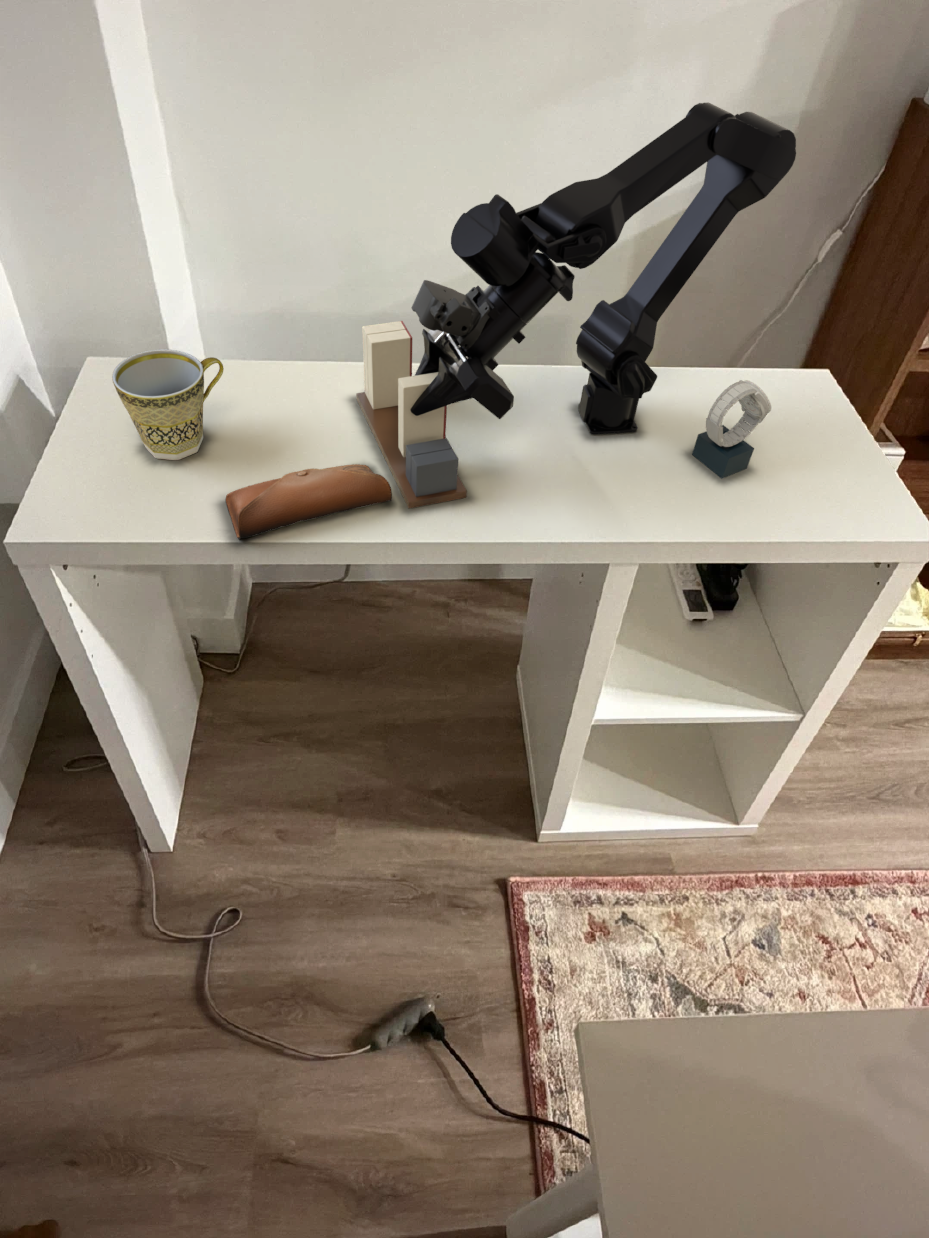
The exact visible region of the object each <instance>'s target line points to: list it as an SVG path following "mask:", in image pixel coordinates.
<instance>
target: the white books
mask: <svg viewBox="0 0 929 1238" xmlns="http://www.w3.org/2000/svg"><path fill="white" fill-rule="evenodd" d="M361 327H362V355H363V356H362V357H363V358H362V361H363V385H364V386H363V387H364V392H365V394H366V396H367V398H368V400H369V402H370V404H371V406H372V408H373V409H380V408H386V407H392V406H398V378H403V377H410V376H413V336H412V334H411V333H410V331H409V330H408V328H407V326H406V324H405V322H404V321H403V320H400V321H399V320H398V321H391V322H384V323H377V324H376V323H375V324H370V325H363V326H361Z"/></svg>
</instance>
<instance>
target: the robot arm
mask: <svg viewBox="0 0 929 1238" xmlns="http://www.w3.org/2000/svg"><path fill="white" fill-rule="evenodd" d="M796 157H797V138H796V135H795V133H794V132H792V130H790V129H788V128H786V127H784V126H782V125H780V124H778V123H776V122H774V121H772V120H770V119H767V118H765V117H763V116H761V115H759V114H756V113H755V112H753V111H744V112H742V113H736V114H735V115H734V114H733V113H731V112H729V111H727V110H725V109H723V108H721V107H719V106H718V105H715V104H713V103H710V102H698V103H696V104H694V105H693V106H692V107H691V108H690V109H689V110H688V112H687V114H686V115H685V116H684V118H682V119H681V120H680V121H678V122H677V123H676V124H674V125H673V126H671V127H670V128H668V129H667V130H666V131H664V132H663V133H662V134H660V135H658V136H657V137H656V138H654V139H653V140H652V141H651V142H649V143H648V144H646V145H645V146H643V147H642V148H641V149H639V150H637V152H635V153H633V154H632V155H631V156H630V157H628V158H627V159H625V160H624V161H622V162H621V163H620V164H618V165H617V166H616V167H613V169H612V170H610V171H609V172H607V173H606V174H603V175H602V176H600V177H597V178H592V179H584V180H579V181H575V182H573V183H571V184H569V185H567V186H565V187H563V188H561V189H559V190H556V191H555V192H553V193H551V194H550V195H548V196H547V197H546V198H545V199H544V200H543V201H542V202H540V203H538V204H535V205H532V206H530V207H528V208H525V209H523V210H519V211H516V209H515V207H514V206H513V205H512V204H511V203H510V202H509V201H508V200H507V199H505V198H504V197H502V196H501V195H500V194H499V193H498V194H496V193H495V195H493V197H492V198H491V199H490V201H489V202H484V203H479V204H477V205H474V206H472V207H471V208H470V209H469V210H468V211H466V212H463V213H461V215H460V216H459V218H458V219H457V221H456V222H455V224H454V226H453V228H452V232H451V235H450V246H451V249H452V251H453V253H454V254H455V255H456V256H457V257H459V259H461V261H463V262H464V263H465V264H466V265H467V266H468V267H469V268H470V269H471V270H472V271H473V272H474V273H475V274H476V275H477V276H478V277H479V278H481V280H483V281H484V282H485V283H486V284H487V285H488V286H487V287H486V288H485V289H483V288H482V287H480V285H476V286H473V287H472V288H471V289H470V290H469V291H468V292H467V293H465V294H464V293H461V292H459V291H457V290H456V289H453V288H451V287H448V286H445V285H443V284H439V283H437V282H434V281H432V280H428V279H424V280H423V281H422V283H421V285H420V287H419V290H418V292H417V294H416V296H415V298H414V301H413V303H412V305H411V310H412V312H415V313H416V316H417V317H418V321H419V323H420V325H422V327H424V328H426V329H428V330H429V331H427V330H426V329H424V328H423V329H422V332H421V335H422V337H423V343H424V344H423V346H424V348H423V349H424V353H423V355H422V358H421V360H420V362H419V365H418V367H417V369H416V372H415V374H414V376H416V375H423V374H429V373H436V372H438V375H437V376H436V377H435V379H434V380H433V381H432V382H431V383H430V385H429V386H428V387H427V388H426V389H425V391H424V392H423V393H422V394H421V395H420V397H419V398H418V399H417V400H416V402H415V403H414V405H413V406H412V408H411V409H410V411H411V413H413V414H414V415H415V416H419V415H422V414H424V413H427V412H430V411H433V410H436V409H438V408H441V407H444V406H447V407H448V406H450V405H453V404H456V403H460V402H463V401H468V400H471V399H473V400H475V401H476V402H477V403H478V404H480V405H481V406H482V407H483V408H485V409H486V410H487V411H488V412H490V413H491V414H492V415H493V416H495V417H496V418H497V419H498V420H501V419H502V418H503V417H504V416H505V415H506V414H507V413H509V412H510V411H511V409H513V407H514V402H515V401H514V400H515V396H514V394H513V393H512V391H511V390H510V388H509V387H508V385H507V384H506V382H505V380H504V379H503V378H501V376H500V375H498V373H496V372H495V371H494V370H495V369H496V368H497V367H498V366H499V365H500V364H499V363H498V362H497V360H496V357H497V356H498V355H499V353H500V352H502V350H503V349H504V348H506V346H507V345H508V344H509V343H510V342H512V340H514V341H515V342H516V343H517V344H518V345H520V344H521V343H522V342H523V340H525V339H526V335H524V333H523V331H522V330H523V329H524V328H525V327H526V326H527V325H528V324H529V323H530V322H531V321H533V319H534V318H535V317H536V316H537V315H538V314H539V313H540V311H541V310H543V309H544V308H545V307H546V306H547V305H548V303H549V302H550V301H551V300H552V299H553V298H554V297H555V296H556V295H557V294H560V296H561V297H563V299H564V300H565V301H566V302H571V301H572V300H573V295H574V280H575V277H576V276H575V274H574V273H573V272H572V271H571V269H569V267H571V268H574V269H579V270H582V269H586V268H588V267H590V266H591V265H593V264H594V263H596V262H597V261H598V260H599V259H600V258H601V257H602V256H604V254H605V253H606V252H607V251H609V249H611V247H612V246H613V245H615V244H616V243H617V242H618V240H619V238H620V236H621V234H622V232H623V228H624V226H625V224H626V223H627V222H628V221H629V220H630V219H631V218H632V217H633V216H634V215H636V214H637V213H639V212H640V211H641V210H643V209H644V208H645V207H647V206H649V205H650V204H651V203H652V202H654V201H655V200H657V199H658V198H659V197H660V196H662V195H663V194H665V193H666V192H667V191H669V190H670V189H671V188H673V187H674V186H676V185H677V184H678V183H680V182H681V181H683V180H684V179H685V178H687V177H688V176H689V175H691V174H692V173H694V172H695V171H697V170H698V169H699V168H701V167H702V166H703V165H704V164H706V167H705V171H704V172H705V173H704V178H703V179H704V180H703V185H702V186H701V188H700V189H699V190H698V192H697V193H696V194H695V197H694V198H693V199H692V201H691V202H690V203H689V204H688V206H687V208H686V209H685V211H684V212H683V213H682V215H681V216H680V217H679V219H678V220H677V222H676V223H675V225H674V226H673V228H672V229H671V230H670V231H669V233H668V234H667V235H666V237H665V239H664V240H663V242H662V243H661V244H660V246H659V247H658V249H656V251H655V253H654V254H653V256H652V257H651V258H650V260H649V261H648V263H647V264H646V265H645V267H644V268H643V269H642V271H641V272H640V274H639V275H638V277H637V278H636V279H635V281H634V282H633V284H632V285H631V286H630V288H628V289H629V290H628V291H627V292H626V293H625V294H624V295H623V296H622V297H621V298H618V299H617V300H615V301H612V302H611V303H608V302H607V301H606V300H604V299H602V300H600V301H599V302H598V303H597V304H596V305H595V307H594V308H593V311H592V312H591V314H590V315H589V317H588V318H587V319H586V320H585V321H584V322H583V323H582V324H581V325H580V326H579V328H580V332H579V334H578V336H577V339H576V341H575V345H576V355H577V357H578V359H580V361H581V367H582V368H583V369H585V370H587V371H588V372H589V374H588V378H587V383H586V384H584V385H583V386H582V390H581V396H580V401H579V403H578V406H577V409H578V413H579V415H580V417H581V420H582V422H583V423H584V424H585V427H586V428H587V431H588V433H589V434H590V435H592V436H593V435H594V436H596V435H611V434H626V433H628V434H629V433H637V432H638V425H637V423H636V421H635V418H636V414H637V410H638V406H639V402H640V399H642V398H643V395H644V394H647V393H648V392H649V393H650V392H651V390H652V389H653V386H654V385H655V383H656V381H657V379H658V374H657V373H656V372H655V371H654V370H653V369H652V368H651V367H650V366H649V364H648V363H647V362H646V361H647V359H648V358H649V356H650V354H651V353H652V351H653V349H654V345H655V340H656V333H657V326H658V322H659V320H660V319H661V317H662V316H663V314H664V313H665V311H666V310H668V308H669V307H670V305H671V304H672V302H673V301H674V300H675V298H676V297H677V296H678V294H679V293H680V291H681V290H682V289H683V288H684V286H685V285H686V283H687V282H688V281H689V279H690V278H691V276H692V275H693V274H694V272H695V271H696V270H697V268H699V266H700V264H701V263H702V262H703V260H704V259H705V257H707V255H708V254H709V252H710V251H711V249H712V248H713V247H714V245H715V244H716V243H717V241H718V240H719V239H720V237H721V236H722V235H723V233H724V232H725V230H726V229H727V228H728V226H729V225H730V223H731V222H732V221H733V220H734V218H735V217H736V216H737V215H738V213H739V212H741V211H743V210H745V209H746V208H749V207H750V206H753V205H754V204H756V203H758V202H760V201H762V200H764V199H765V198H766V197H767V196H768V195H769V194H770V193H771V192H772V191H773V190H774V189H775V188H776V187H777V186H778V184H780V182H781V181H782V180H783V179H784V178H785V177H786V176H787V174H788V173H789V171H790V170H791V169H792V167H793V165H794V163H795V161H796ZM556 264H563V265H556ZM566 264H567V265H566ZM568 266H569V267H568Z"/></svg>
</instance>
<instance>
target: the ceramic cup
mask: <svg viewBox="0 0 929 1238" xmlns="http://www.w3.org/2000/svg"><path fill="white" fill-rule="evenodd" d="M214 364H218V371H217V373H216V375H215V376H214V378H213V379H212V380H211V381H210V383H209V384H208V386H207V387H206V389H205V372H206V371H207V369H208V368H209V367H211V366H213V365H214ZM223 374H224V365H223V363H222V361H221V360H220V359H218V358H217V357H211V356H210V357H205V358H204V359H203V360H201V361H200V360H199V359H198V358H197V357H195V356H194V355H192V354H190V353H188V352H185V351H182V350H177V349H169V348H167V349H165V348H163V349H160V348H159V349H150V350H146V351H145V350H144V351H141V352H138V353H135V354H132V355H131V356H128V357H127V358H124V359H123V360H122V361H121V362H119V363H118V364H117V365H116V367H115V368H114V370H113V372H112V374H111V380H112V383H113V386H114V389H115V390H116V392H117V395H118V397H119V399H120V401H121V403H122V405H123V407H124V408H125V410H126V411H127V413H128V415H129V418H130V419H131V421H132V423H133V425H134V428H135V429H136V431H137V433H138V436H139V437H140V439H141V442H142V444H143V445H144V447H145V449H146V450H147V451H148V452H149V453H150V454H151V455H152V456H153V457H154V458H155V459H158V460H168V461H169V460H170V461H180V460H182V459H185V458H187V457H190V456H192V455H194V454H197V452H199V449H200V447H201V445H202V442H203V440H204V403H205V400H207V398H208V397H209V395H210V393H211V392H212V390H213V388H214V387H215V385H216V384H217V383H218V382H219V380H220V379H221V378H222V376H223Z"/></svg>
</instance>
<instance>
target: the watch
mask: <svg viewBox="0 0 929 1238" xmlns="http://www.w3.org/2000/svg"><path fill="white" fill-rule="evenodd" d="M737 403H739V404H740V407H741V411H742V412H743V414H742V416H741V417H740V418H739V419H738V421H737V422H736V423H735V424H734V426H732V427H731V428H728V427H727V426H726V425H724V424H723V420H724V417H726V415H727V414H728V411H730V410H731V408H732V407H734V405H736V404H737ZM708 411H709V412H708V414H707V417H706V418H705V431H703V432H701V433H698V434H697V437H696V440H695V443H694V446H693V450H692V453H691V455H692V456H693V457H694V458H696V460H698V461H699V462H700V463H702V464H703V465H704V466H706V468H708V469H709V470H710V471H711V472H713V473H714V474H715V475H717V477H719V478H720V479H722V480H723V479H725V478H728V477H731V476H733V475H734V474H737V473H739V472H741V471H745V470H746V469H748V466H749V463H750V460H751V458H752V456H753V453H754V450H755V447H753V446H752V445H750V444H749V443H748V442H747V441H745V439H746V438H747V437H749V436H750V435H751V434H752V432H753V431H754V430H755V429H756V428H757V426H758V425H759V424H761V423H763V421H764V420H765V418H766V416H767V415H768V414H770V412H771V411H772V404H771V401H770V399H769V398H768V396H767V395H766V393H765V392H764V390H763V389H761V387H759V386H758V385H757V384H756V383H754V382H753V381H750V380H748V379H747V380H742V379H739V381H737V382H734V383H732V384H730V385H729V386H728V387H726V388H725V389H724V390H723V391H721V393H720V394H719V396H718V397H717V398H716V399H715V401H714V402H713V404H712V406H711V408H710V409H709V410H708Z"/></svg>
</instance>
